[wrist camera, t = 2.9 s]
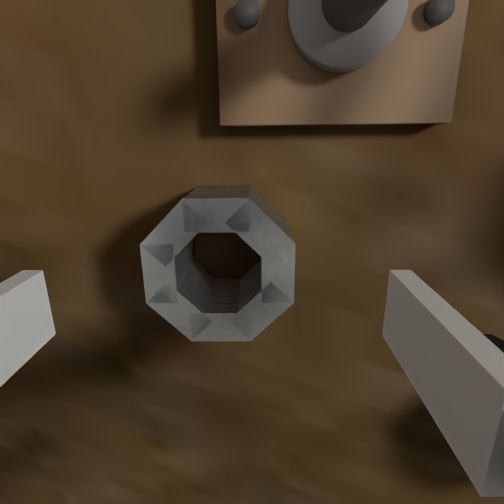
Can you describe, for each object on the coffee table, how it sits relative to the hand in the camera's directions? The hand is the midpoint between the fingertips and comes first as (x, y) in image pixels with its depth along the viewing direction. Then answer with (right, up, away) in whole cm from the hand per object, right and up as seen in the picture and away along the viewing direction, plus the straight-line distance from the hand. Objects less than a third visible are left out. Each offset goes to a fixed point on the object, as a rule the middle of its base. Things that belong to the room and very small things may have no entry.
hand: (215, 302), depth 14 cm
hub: (0, +2, +9) cm, 9 cm away
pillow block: (+6, +14, +5) cm, 16 cm away
